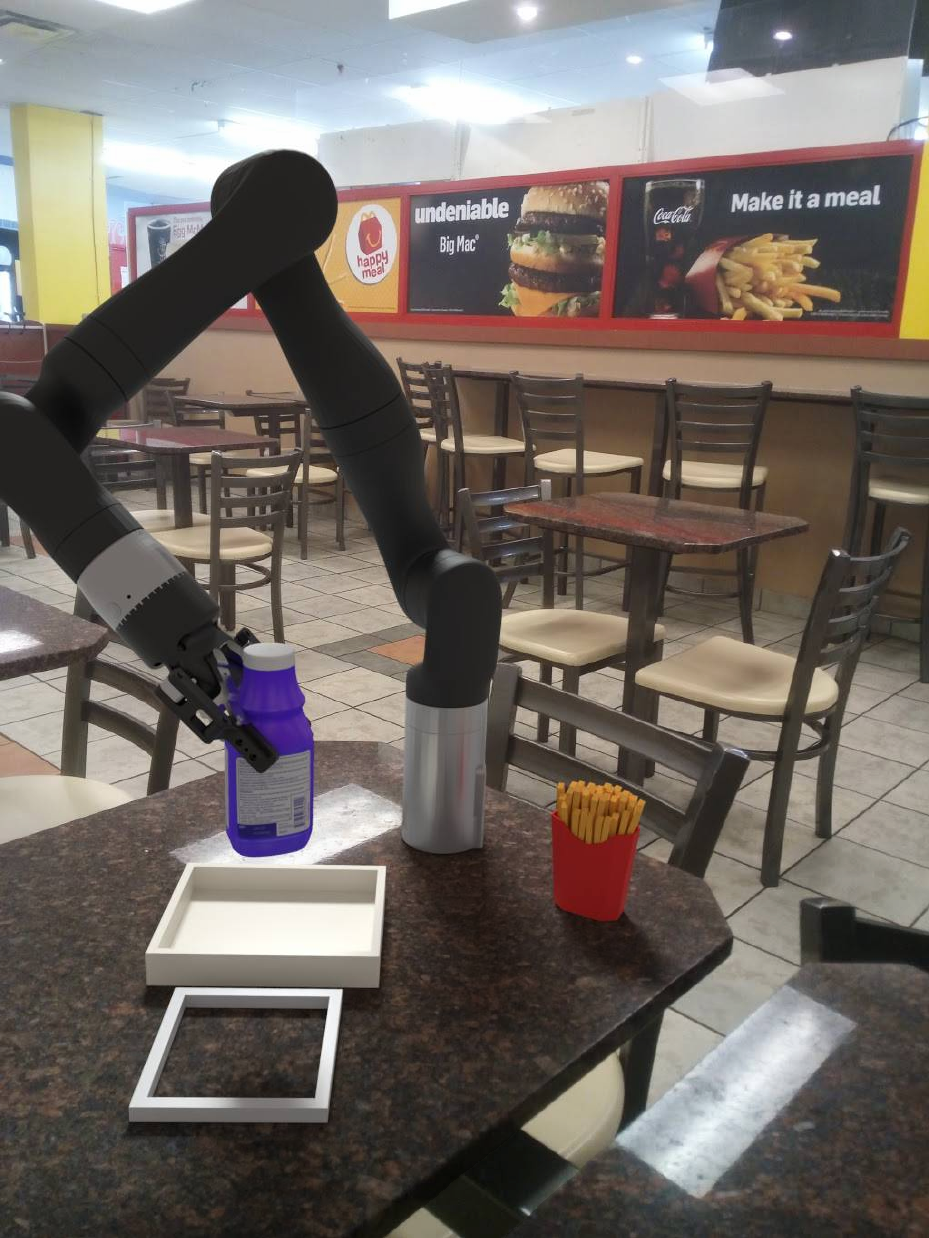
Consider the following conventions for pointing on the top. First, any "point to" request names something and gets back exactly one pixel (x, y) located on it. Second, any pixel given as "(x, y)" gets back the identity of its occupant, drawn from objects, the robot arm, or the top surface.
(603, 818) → the french fries
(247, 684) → the bottle
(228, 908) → the tray
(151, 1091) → the frame
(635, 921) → the top surface
